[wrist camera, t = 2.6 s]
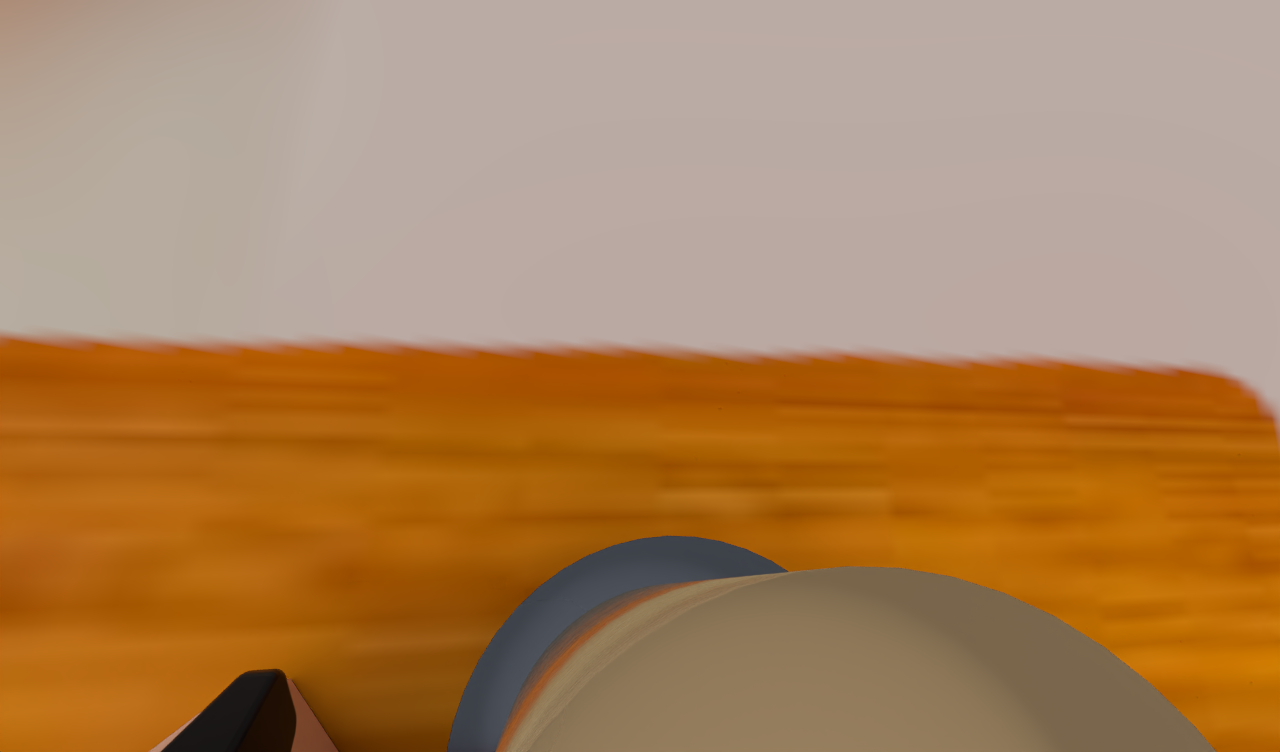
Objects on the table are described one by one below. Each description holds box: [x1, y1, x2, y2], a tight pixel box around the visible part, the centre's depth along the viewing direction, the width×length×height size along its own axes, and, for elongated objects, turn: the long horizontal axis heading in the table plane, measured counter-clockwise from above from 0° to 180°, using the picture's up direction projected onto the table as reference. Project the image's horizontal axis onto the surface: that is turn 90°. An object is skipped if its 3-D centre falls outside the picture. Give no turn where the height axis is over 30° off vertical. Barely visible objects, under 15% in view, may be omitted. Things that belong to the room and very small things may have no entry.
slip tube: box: [447, 536, 1216, 752], centre depth 9 cm, size 5×5×14 cm
